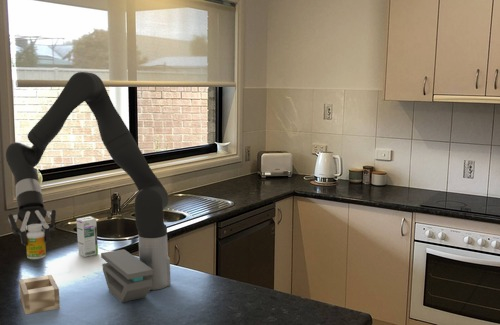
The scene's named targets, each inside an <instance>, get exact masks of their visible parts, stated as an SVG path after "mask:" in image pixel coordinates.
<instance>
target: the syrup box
mask: <svg viewBox="0 0 500 325" xmlns="http://www.w3.org/2000/svg"><path fill="white" fill-rule="evenodd" d="M75 221H76V233H77V249H78V254H79V255H80V256H82V257H84V258H86V257H90V256H95V255H98V254H99V248H98V247H99V246H98V245H99V244H98V228H97V227H98V226H97V218H96V217H94V216H91V215H89V216H85V217H79V218H76V220H75Z"/></svg>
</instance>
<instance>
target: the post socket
mask: <svg viewBox="0 0 500 325" xmlns="http://www.w3.org/2000/svg"><path fill="white" fill-rule="evenodd" d="M18 280H19V281H18V283H19V297H20V301H21V302H20V303H21V305H22V309H23V312H24V315H29V314H35V313H40V312H46V311H52V310H57V309H60V308H61V304H60V289H59V287H58V285H57V284H58V283H56V280H55V278H54V277H53V275H52V274H48V275H47V274H46V275H43V276H37V277H36V276H35V277H29V278H28V277H27V278H23V279H18Z"/></svg>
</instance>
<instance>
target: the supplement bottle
mask: <svg viewBox="0 0 500 325" xmlns="http://www.w3.org/2000/svg"><path fill="white" fill-rule="evenodd" d="M27 231H28V232H26V239H27V246H25V247H26V257H27V259H30V260H38V259H42V258H45V257H46V255H47V251H46V246H47V245H46V242H45V233H44V230H43V229H42V225H41V224H31V225H28V226H27Z"/></svg>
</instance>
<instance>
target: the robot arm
mask: <svg viewBox="0 0 500 325" xmlns="http://www.w3.org/2000/svg"><path fill="white" fill-rule="evenodd" d="M84 102H85V104H86V105H87V106H88V107H89V109H90V111H91V113H92V114H93V116H94V117H95V120H96V124H97V127H98V131H99V136H100V139H101V141H102V143H103V146H104V147H105V149H106V150H107V152H108V154H109V156H110V157H111V159H112V160H113V162H115V164H116V165H117V166H119V167H120V168H121V169H122V170H123V171H124V172H125V173H126V174H127V175H128V177H130V179H131V180H132V181H133V183H134V185H135V187H136V188H137V190H138V192H137V193H136V194H135V199H134V216H135V219H134V220H135V226H136V229H137V234H138V236H137V237H138V255H139V256H138V257H139V258H138V259H139V260H140V261H142V262H143V263H144V264H146V265H147V266H149V267H150V268H152V269H153V275H148V277H150V278H151V279H152V287H151V289H150V290H149V291H156V290H161V289H165V288H167V287H169V286H171V281H172V280H171V258H170V257H169V255H168V252H169V250H168V227H167V225H166V224H165V222H164V210H165V209H166V207H168V203H169V194H168V192H167V189H166V188H165V187H164V185H163V184H162V183H161V181H160V179H159V178H158V177H157V175H156V174H155V173H154V172H153V170H152V169H151V167H150V165H149V163H148V161H147V159H146V158H145V156H144V154H143V153H142V150H141V149H140V147H139V145H138V144H137V140H136V139H135V138H134V136H133V134H132V133H131V131H130V129H129V128H128V127H127V125H126V123H125V122H124V120H123V119H122V117H121V115H120V114H119V112H118V110H117V109H116V107H115V105H114V103H113V101H112V99H111V98H110V95H109V93H108V90H107V89H106V86H105V84H104V82H103V80H102V79H101V77H100V76H99V75H97V74H96V73H93V72H88V71H78V72H76V73H74V74H73V75H72V76H70V78H69V79H68V81H67V82H66V84H65V86H64V87H63V89H62V90H61V92H60V93H59V95H58V96H57V98H56V99H55V101H54V102H53V103H52V105H51V107H50V108H49V109H48V110H47V111H46V113H45V114H44V115H43V116H42V117H41V118H40V119H39V120H38V122H37V123H35V125H34V126H33V127H32V129H31V128H30V131H28V133H27V140H28V141H29V142H30V144H32V146H29V145H26V144H24V143H21V142H19V141H18V142H17V141H15V142H13V143H10V144H9V145H8V146H7V148H6V151H5V158H6V159H5V160H6V162H7V165H8V167H9V169H10V171H11V173H12V175H13V177H14V182H15V183H14V184H15V199H16V203H17V204H16V205H17V211H18V212H17V213H16V214H13V213H12V214H11V213H9V215H8V216H7V219H8V223H9V226H10V228H11V231H12V233H13V235H15V236H16V235H18V236H20V242H21V243H20V244H21V245H24V247H26V246H27V239H26V234H27V232H26V231H27V230H28V225H31V224H41V225H42V231H43V232H44V233H45V244H48V243H49V242H50V241H51V234H50V233H51V231H54V230H55V226H56V216H57V215H56V212H57V211H56V209H52V210H51V211H50V210H47V209H45V203H44V198H43V192H42V188H41V184H40V181H39V173H38V171H37V169H36V168H35V167H36V166H37V165H39V163H40V161H41V159H42V157H43V155H44V153H45V151H46V149H47V147H48V145H49V144H51V142H52V141H53V140H54V139H55V138H56V137H57V135H59V133H60V132H61V130H62V128H63V127H64V125H65V123H66V121H67V119H68V118H69V116H70V115H71V114H72V112H73V111H75V109H77V107H79V106H80V105H81V104H82V103H84ZM46 216H47V217H48V219H50V224H48V223H47V221H46V219H45V218H46ZM17 220H19V221H21V226H20V228H18V225H17Z"/></svg>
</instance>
